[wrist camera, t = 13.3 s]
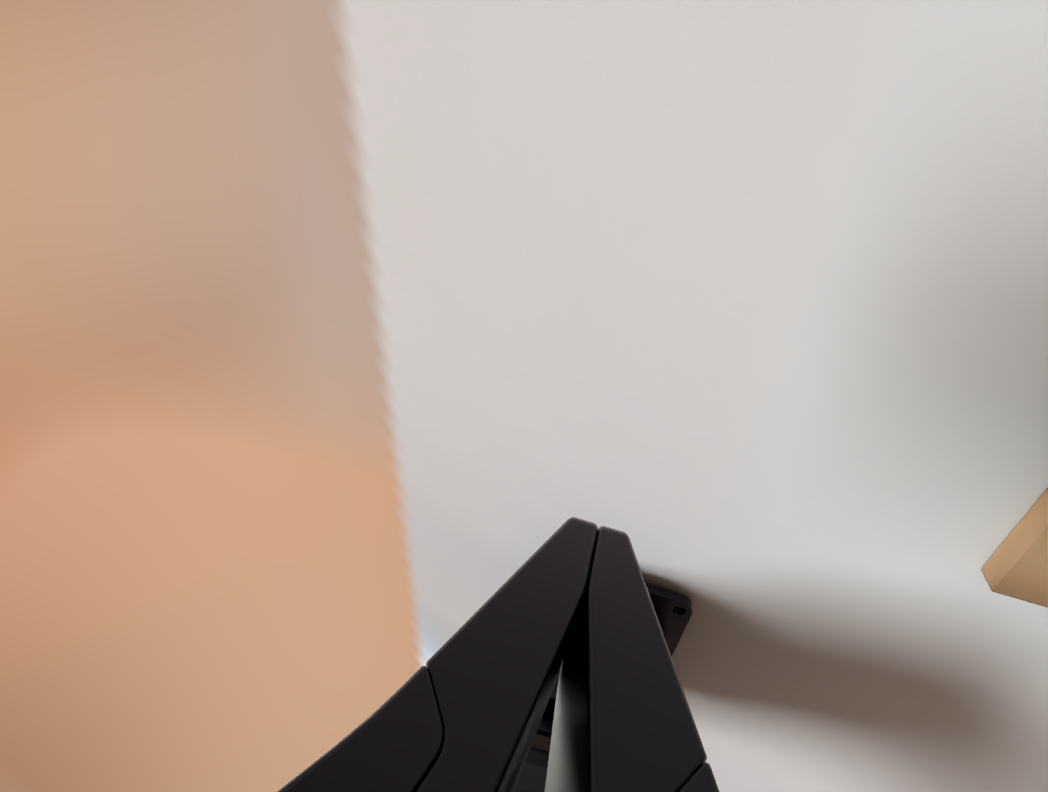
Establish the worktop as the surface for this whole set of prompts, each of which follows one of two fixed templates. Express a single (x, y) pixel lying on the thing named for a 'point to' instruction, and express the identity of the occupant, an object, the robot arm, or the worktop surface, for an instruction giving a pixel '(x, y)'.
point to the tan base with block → (1023, 558)
